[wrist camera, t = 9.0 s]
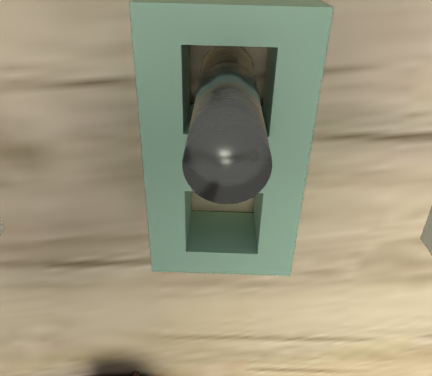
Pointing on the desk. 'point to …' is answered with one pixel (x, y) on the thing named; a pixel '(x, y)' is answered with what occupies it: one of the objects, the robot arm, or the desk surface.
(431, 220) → the robot arm
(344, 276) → the desk surface
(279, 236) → the socket block
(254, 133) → the pin
